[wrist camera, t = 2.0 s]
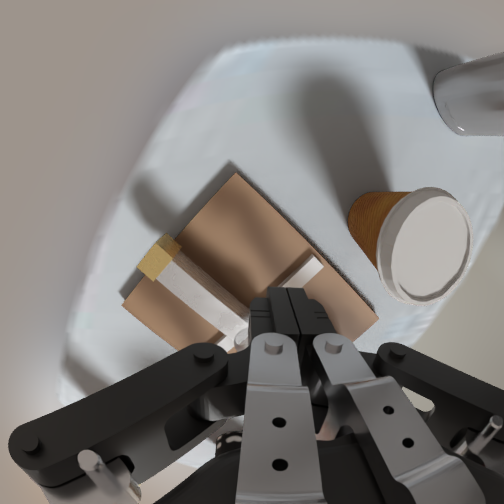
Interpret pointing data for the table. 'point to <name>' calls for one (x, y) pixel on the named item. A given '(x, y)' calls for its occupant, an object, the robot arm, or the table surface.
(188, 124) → the table surface
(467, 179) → the table surface
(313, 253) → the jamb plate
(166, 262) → the swing bar
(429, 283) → the disposable coffee cup
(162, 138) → the table surface
